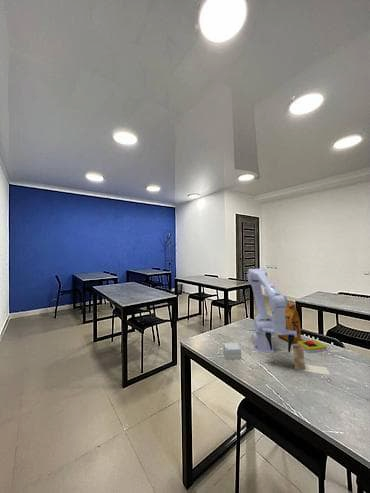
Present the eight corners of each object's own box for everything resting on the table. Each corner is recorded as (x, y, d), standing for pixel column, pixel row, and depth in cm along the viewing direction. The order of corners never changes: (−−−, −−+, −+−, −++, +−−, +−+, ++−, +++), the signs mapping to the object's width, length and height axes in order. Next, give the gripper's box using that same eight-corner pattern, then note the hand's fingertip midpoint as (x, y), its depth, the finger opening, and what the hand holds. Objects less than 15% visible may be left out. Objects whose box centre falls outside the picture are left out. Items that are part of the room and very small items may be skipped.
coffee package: (290, 344, 120) (289, 305, 121) (275, 336, 132) (273, 300, 132) (304, 341, 123) (302, 303, 124) (288, 333, 135) (286, 299, 135)
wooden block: (295, 368, 96) (293, 348, 96) (294, 364, 100) (292, 344, 100) (305, 369, 95) (303, 349, 95) (304, 365, 98) (302, 345, 99)
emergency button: (293, 339, 118) (317, 336, 120) (293, 347, 118) (317, 344, 120) (305, 347, 109) (331, 344, 111) (305, 355, 109) (331, 352, 111)
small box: (238, 351, 115) (238, 342, 115) (241, 359, 107) (241, 349, 107) (223, 352, 115) (223, 342, 115) (225, 359, 107) (225, 349, 107)
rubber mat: (281, 373, 94) (281, 371, 94) (280, 357, 107) (280, 356, 107) (335, 382, 86) (335, 381, 86) (326, 364, 99) (326, 363, 99)
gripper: (262, 322, 100) (263, 351, 99) (297, 325, 94) (298, 356, 94) (262, 317, 106) (263, 344, 106) (295, 320, 101) (296, 349, 101)
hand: (280, 349), depth 100 cm, fingers open, 7 cm apart
